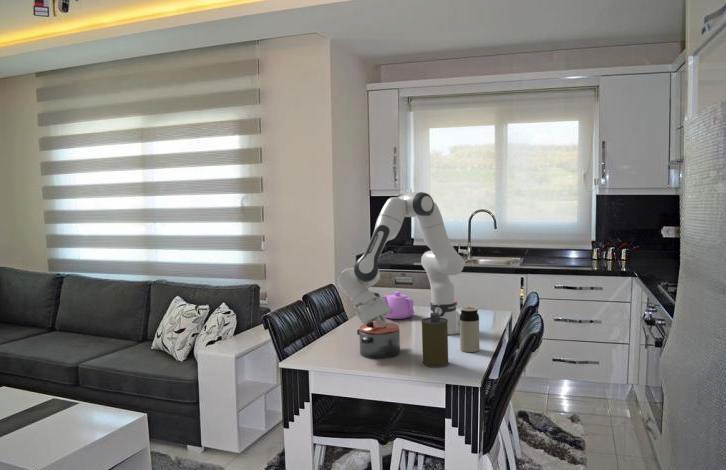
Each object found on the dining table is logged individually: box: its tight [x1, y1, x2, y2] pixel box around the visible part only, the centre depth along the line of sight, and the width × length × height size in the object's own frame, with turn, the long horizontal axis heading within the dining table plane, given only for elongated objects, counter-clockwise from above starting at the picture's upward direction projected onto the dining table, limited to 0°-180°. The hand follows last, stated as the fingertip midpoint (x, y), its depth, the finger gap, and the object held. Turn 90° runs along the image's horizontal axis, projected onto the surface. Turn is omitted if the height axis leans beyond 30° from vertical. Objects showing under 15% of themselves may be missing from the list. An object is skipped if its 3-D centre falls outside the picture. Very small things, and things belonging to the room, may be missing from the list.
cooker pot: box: [356, 328, 401, 360], centre depth 235 cm, size 25×18×10 cm
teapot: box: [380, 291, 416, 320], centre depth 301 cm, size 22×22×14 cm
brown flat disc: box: [359, 321, 400, 335], centre depth 235 cm, size 17×17×3 cm
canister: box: [420, 313, 450, 369], centre depth 218 cm, size 11×10×20 cm
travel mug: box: [459, 305, 480, 353], centre depth 235 cm, size 8×8×18 cm
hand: (385, 326), depth 233 cm, fingers closed, pressing on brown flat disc
